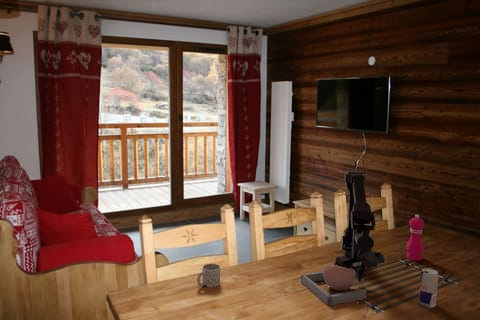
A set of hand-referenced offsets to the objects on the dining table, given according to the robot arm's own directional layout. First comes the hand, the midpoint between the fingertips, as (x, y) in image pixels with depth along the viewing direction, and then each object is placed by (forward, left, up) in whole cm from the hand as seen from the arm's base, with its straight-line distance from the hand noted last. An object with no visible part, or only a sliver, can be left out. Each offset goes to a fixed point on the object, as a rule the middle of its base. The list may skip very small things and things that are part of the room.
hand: (358, 281), depth 155 cm
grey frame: (0, -11, -2) cm, 11 cm away
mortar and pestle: (0, -9, -2) cm, 9 cm away
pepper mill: (-15, +40, -2) cm, 43 cm away
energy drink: (+20, +13, -2) cm, 24 cm away
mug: (-19, -54, -2) cm, 57 cm away
